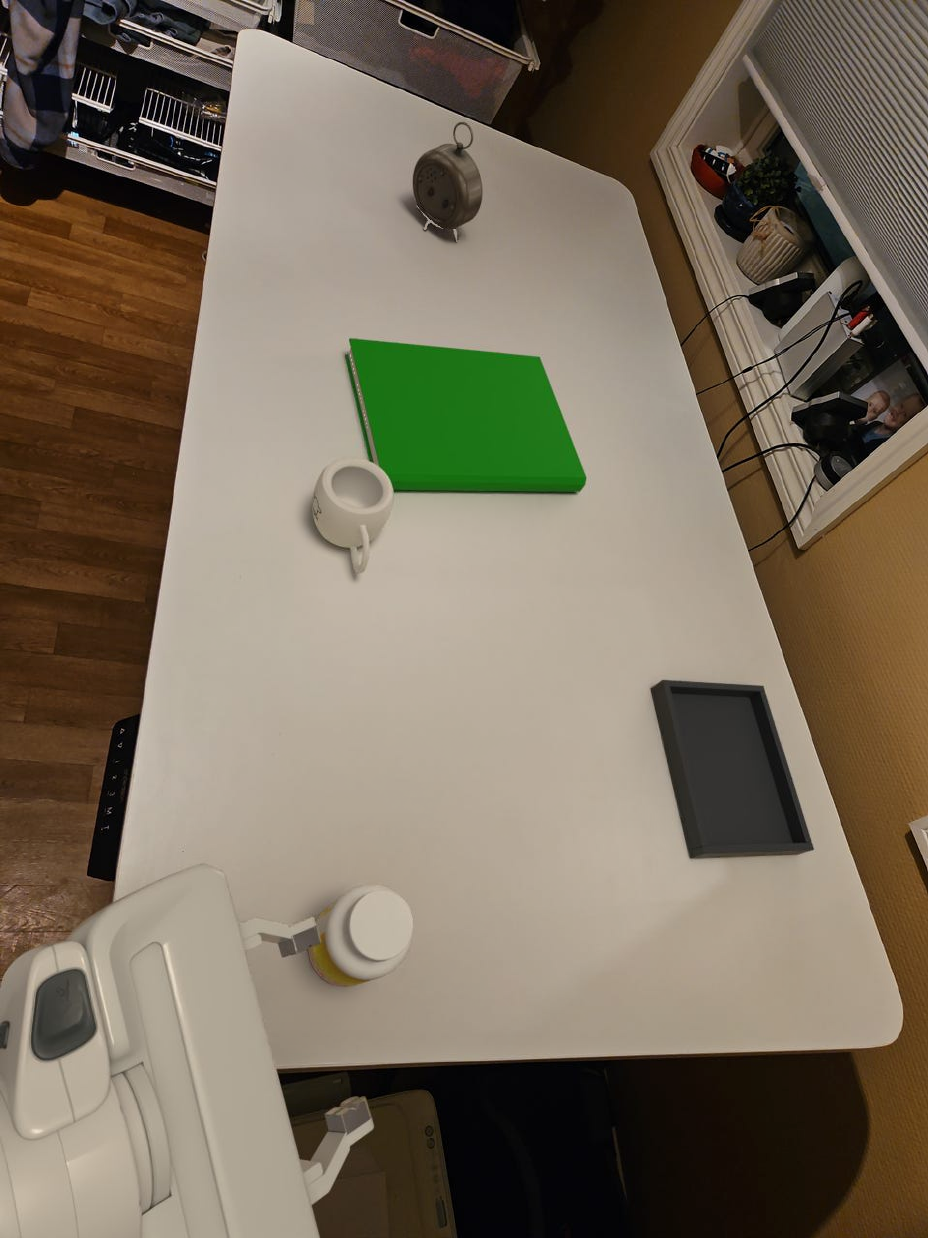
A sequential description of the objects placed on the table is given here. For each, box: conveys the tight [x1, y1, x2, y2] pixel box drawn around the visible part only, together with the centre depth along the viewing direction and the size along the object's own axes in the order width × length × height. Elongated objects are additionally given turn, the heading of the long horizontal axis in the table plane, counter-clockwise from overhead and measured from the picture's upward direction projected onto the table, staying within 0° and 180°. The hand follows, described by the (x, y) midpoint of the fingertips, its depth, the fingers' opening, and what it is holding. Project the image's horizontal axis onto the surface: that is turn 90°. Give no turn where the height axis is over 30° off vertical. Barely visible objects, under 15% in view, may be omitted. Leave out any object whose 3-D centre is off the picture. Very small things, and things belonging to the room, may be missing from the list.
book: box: [344, 337, 587, 493], centre depth 95 cm, size 22×28×3 cm
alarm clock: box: [412, 121, 484, 231], centre depth 109 cm, size 11×5×16 cm, turn 51°
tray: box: [650, 679, 815, 860], centre depth 82 cm, size 20×15×3 cm
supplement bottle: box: [307, 883, 414, 987], centre depth 56 cm, size 7×7×13 cm
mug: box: [311, 456, 395, 574], centre depth 78 cm, size 12×8×8 cm
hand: (338, 1018), depth 39 cm, fingers open, 8 cm apart
